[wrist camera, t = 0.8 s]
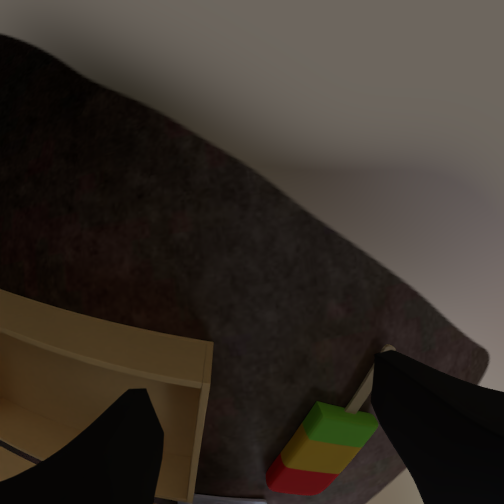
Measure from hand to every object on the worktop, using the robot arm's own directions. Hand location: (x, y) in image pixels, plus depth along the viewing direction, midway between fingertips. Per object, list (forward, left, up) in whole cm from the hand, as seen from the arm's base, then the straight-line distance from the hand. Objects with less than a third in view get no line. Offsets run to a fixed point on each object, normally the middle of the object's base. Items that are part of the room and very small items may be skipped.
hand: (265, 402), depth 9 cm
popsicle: (-9, -8, -10) cm, 16 cm away
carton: (-8, +11, -10) cm, 17 cm away
